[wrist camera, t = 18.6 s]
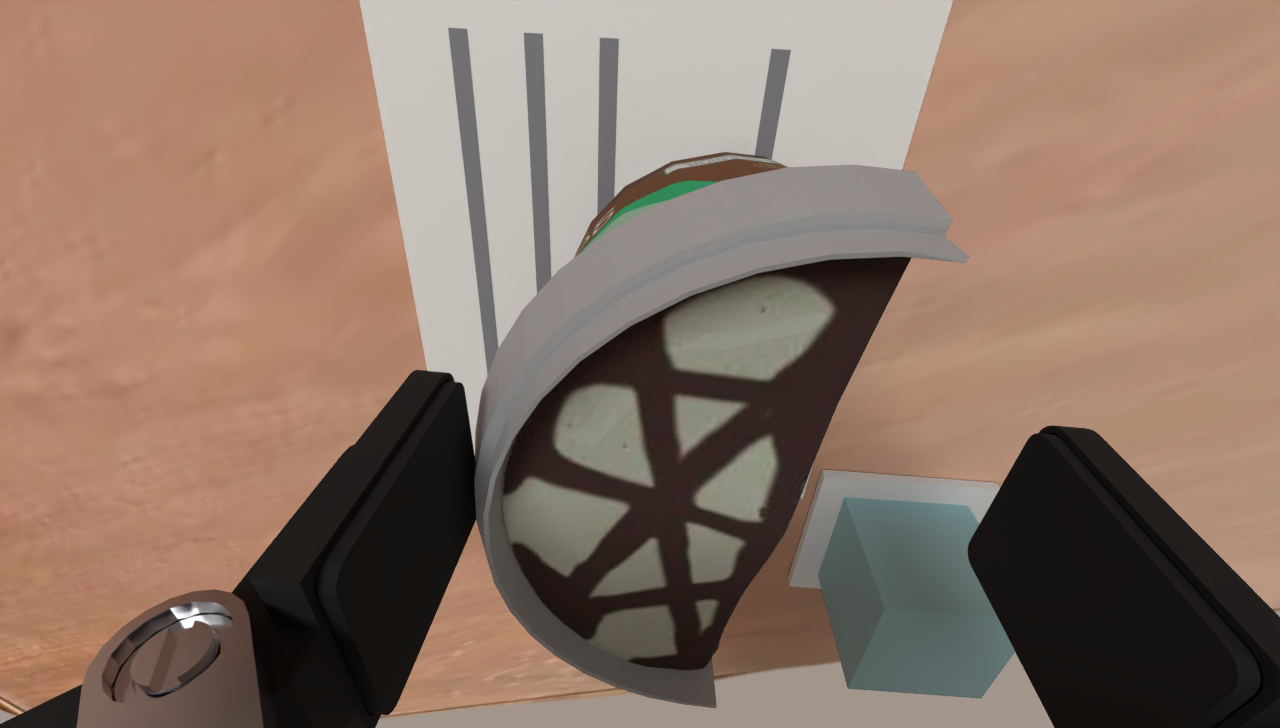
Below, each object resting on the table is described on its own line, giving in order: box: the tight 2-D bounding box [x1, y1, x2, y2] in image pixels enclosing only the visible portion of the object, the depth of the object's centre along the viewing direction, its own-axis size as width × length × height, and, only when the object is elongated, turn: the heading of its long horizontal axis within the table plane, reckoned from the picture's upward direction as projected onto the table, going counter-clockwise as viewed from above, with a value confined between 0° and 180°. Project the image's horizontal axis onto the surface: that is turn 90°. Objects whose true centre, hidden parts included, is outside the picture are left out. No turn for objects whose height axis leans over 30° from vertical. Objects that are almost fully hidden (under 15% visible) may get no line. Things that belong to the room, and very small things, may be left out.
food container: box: [474, 152, 969, 708], centre depth 13 cm, size 12×6×10 cm, turn 168°
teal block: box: [818, 497, 1015, 698], centre depth 21 cm, size 5×5×5 cm
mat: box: [788, 470, 1000, 589], centre depth 24 cm, size 7×7×1 cm
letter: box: [360, 0, 953, 499], centre depth 18 cm, size 15×18×1 cm
